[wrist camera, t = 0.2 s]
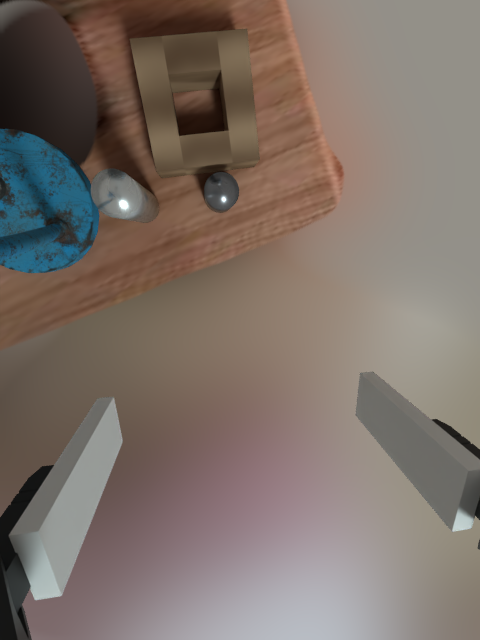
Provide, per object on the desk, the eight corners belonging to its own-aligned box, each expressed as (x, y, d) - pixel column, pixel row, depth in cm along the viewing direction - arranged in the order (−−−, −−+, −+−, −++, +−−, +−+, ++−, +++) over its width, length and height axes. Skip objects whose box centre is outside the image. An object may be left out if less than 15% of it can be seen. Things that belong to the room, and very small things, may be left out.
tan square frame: (138, 62, 31) (129, 38, 28) (242, 52, 32) (247, 28, 28) (161, 178, 35) (156, 171, 31) (253, 166, 36) (259, 159, 32)
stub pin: (201, 182, 36) (201, 174, 31) (232, 178, 36) (236, 169, 31) (207, 214, 37) (207, 211, 32) (236, 210, 37) (240, 207, 33)
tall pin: (123, 191, 35) (84, 171, 24) (155, 187, 35) (131, 166, 24) (131, 224, 36) (98, 220, 25) (162, 220, 37) (142, 214, 25)
